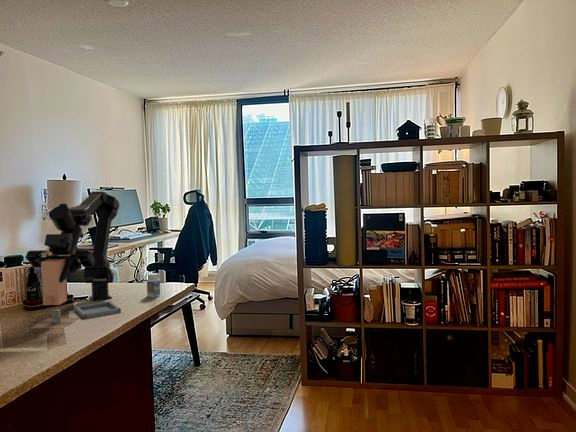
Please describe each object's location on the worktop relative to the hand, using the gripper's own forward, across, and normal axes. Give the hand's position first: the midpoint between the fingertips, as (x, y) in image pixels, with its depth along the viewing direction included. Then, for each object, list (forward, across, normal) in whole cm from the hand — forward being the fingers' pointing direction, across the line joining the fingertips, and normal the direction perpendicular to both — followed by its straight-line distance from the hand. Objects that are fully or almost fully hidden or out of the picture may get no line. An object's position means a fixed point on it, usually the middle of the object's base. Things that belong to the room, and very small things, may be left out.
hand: (51, 282), depth 127 cm
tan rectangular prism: (+4, 0, +6) cm, 7 cm away
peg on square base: (+8, 0, +10) cm, 14 cm away
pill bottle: (-16, +19, +35) cm, 43 cm away
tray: (0, +8, +19) cm, 20 cm away
